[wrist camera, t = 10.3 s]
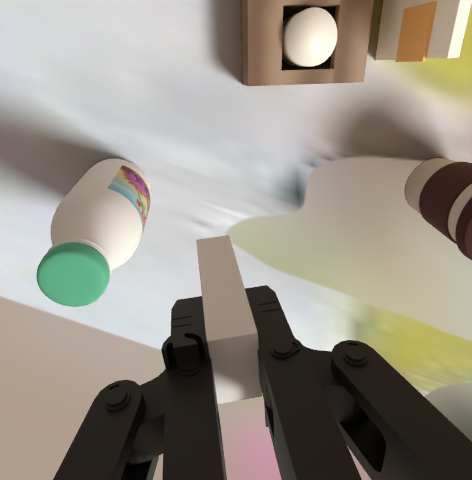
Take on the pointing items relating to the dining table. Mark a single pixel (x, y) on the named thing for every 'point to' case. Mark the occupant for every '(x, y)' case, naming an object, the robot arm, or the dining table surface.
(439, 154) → the dining table surface
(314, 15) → the button
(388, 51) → the pattern card
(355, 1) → the button board
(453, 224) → the coffee cup
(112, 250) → the milk bottle
